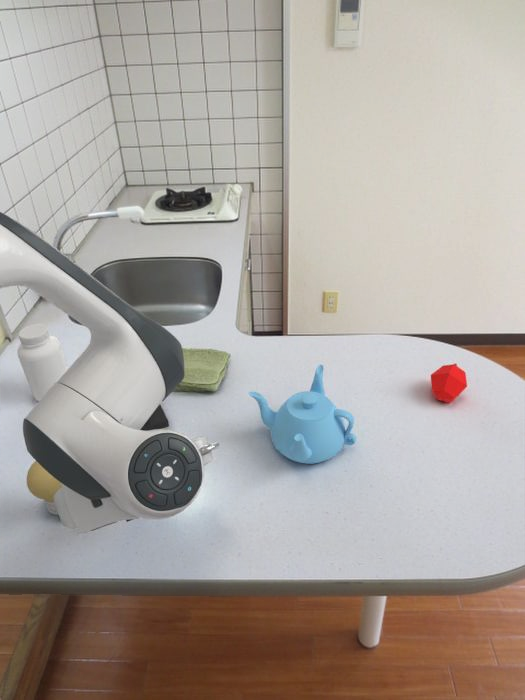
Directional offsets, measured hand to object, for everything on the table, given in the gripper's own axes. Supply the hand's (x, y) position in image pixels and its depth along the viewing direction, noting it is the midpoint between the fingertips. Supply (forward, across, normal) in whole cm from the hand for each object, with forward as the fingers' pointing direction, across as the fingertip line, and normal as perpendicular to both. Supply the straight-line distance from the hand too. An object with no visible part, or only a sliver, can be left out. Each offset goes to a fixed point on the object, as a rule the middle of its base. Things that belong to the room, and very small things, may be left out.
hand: (130, 479), depth 74 cm
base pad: (+24, -5, -10) cm, 27 cm away
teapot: (+8, -31, +6) cm, 32 cm away
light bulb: (+15, +10, 0) cm, 18 cm away
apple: (+5, -61, +9) cm, 62 cm away
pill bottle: (+36, +4, -21) cm, 42 cm away
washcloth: (+30, -21, -15) cm, 39 cm away
